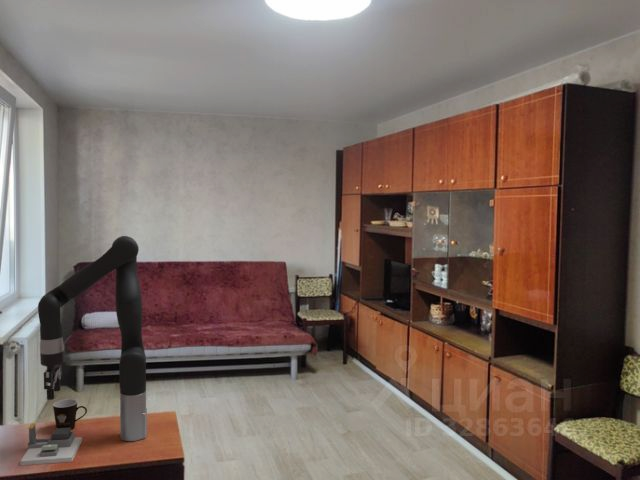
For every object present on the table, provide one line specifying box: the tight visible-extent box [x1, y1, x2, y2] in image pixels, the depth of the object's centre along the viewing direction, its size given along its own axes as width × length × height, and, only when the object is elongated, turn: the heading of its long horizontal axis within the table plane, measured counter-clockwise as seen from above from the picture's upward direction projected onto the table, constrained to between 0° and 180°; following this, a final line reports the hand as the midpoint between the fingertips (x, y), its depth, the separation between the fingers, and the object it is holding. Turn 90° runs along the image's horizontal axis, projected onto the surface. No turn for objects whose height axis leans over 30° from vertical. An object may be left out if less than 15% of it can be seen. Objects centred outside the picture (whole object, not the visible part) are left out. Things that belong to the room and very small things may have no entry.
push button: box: [51, 427, 72, 441], centre depth 198 cm, size 5×5×3 cm
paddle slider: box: [27, 422, 38, 447], centre depth 196 cm, size 2×3×7 cm, turn 12°
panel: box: [20, 431, 83, 466], centre depth 194 cm, size 16×16×4 cm
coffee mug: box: [52, 398, 88, 431], centre depth 213 cm, size 12×9×10 cm
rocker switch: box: [41, 444, 57, 450], centre depth 190 cm, size 4×3×1 cm, turn 102°
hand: (53, 395), depth 197 cm, fingers open, 8 cm apart
